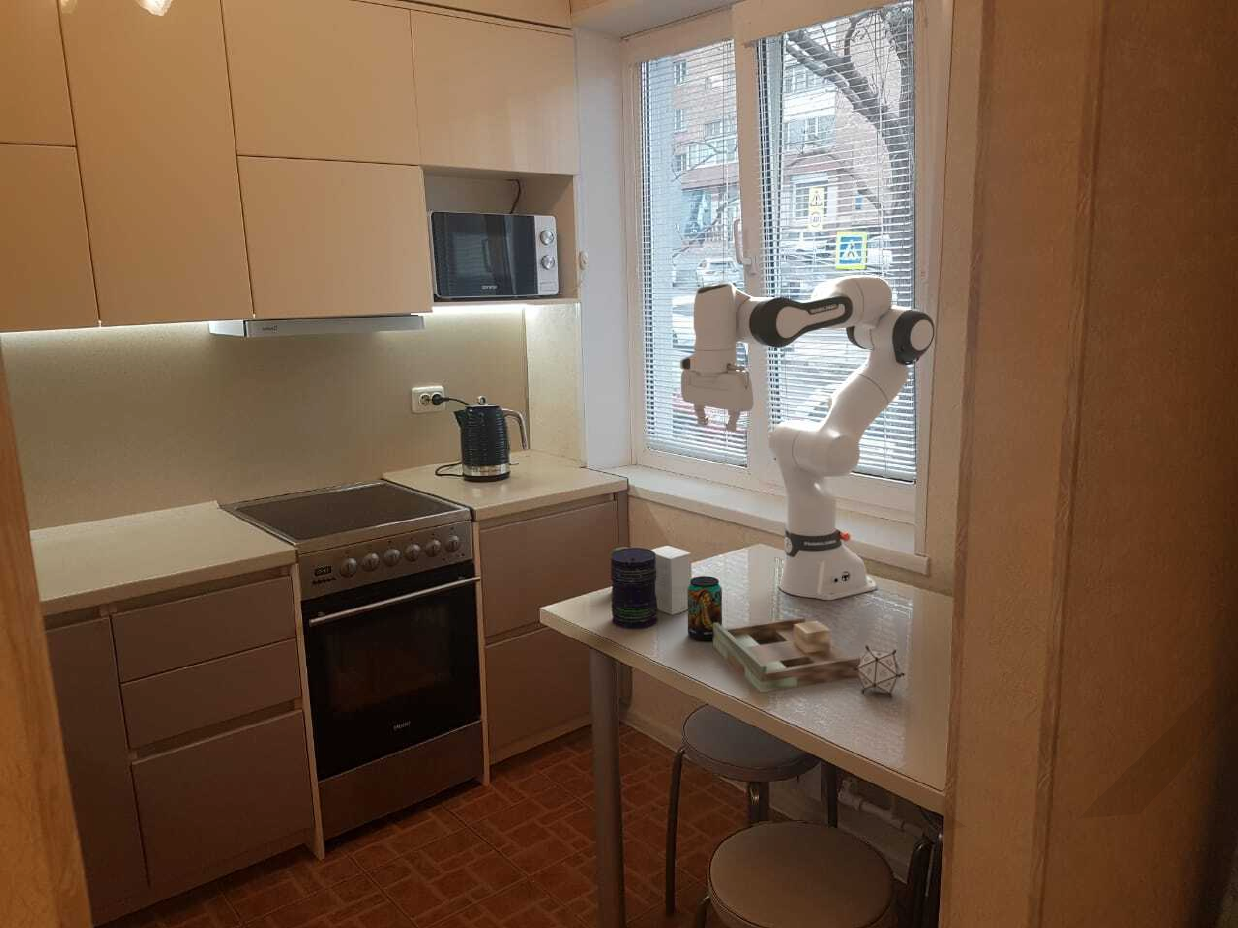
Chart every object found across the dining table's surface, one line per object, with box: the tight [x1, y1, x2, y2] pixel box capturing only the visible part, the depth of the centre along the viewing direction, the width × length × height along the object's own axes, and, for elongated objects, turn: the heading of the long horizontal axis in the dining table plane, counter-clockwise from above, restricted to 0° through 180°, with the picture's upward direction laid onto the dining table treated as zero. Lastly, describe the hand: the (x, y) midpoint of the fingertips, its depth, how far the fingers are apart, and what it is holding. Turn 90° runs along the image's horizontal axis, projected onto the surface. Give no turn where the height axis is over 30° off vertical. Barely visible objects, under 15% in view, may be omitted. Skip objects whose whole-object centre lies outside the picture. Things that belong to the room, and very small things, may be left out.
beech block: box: [794, 620, 831, 653], centre depth 178 cm, size 5×5×4 cm
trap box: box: [712, 616, 862, 694], centre depth 177 cm, size 20×22×5 cm
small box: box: [650, 545, 693, 616], centre depth 205 cm, size 8×6×13 cm
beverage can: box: [687, 575, 723, 642], centre depth 189 cm, size 7×7×12 cm
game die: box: [852, 644, 906, 699], centre depth 162 cm, size 9×8×10 cm
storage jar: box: [610, 547, 658, 630], centre depth 197 cm, size 10×10×15 cm
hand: (716, 428), depth 193 cm, fingers open, 8 cm apart
